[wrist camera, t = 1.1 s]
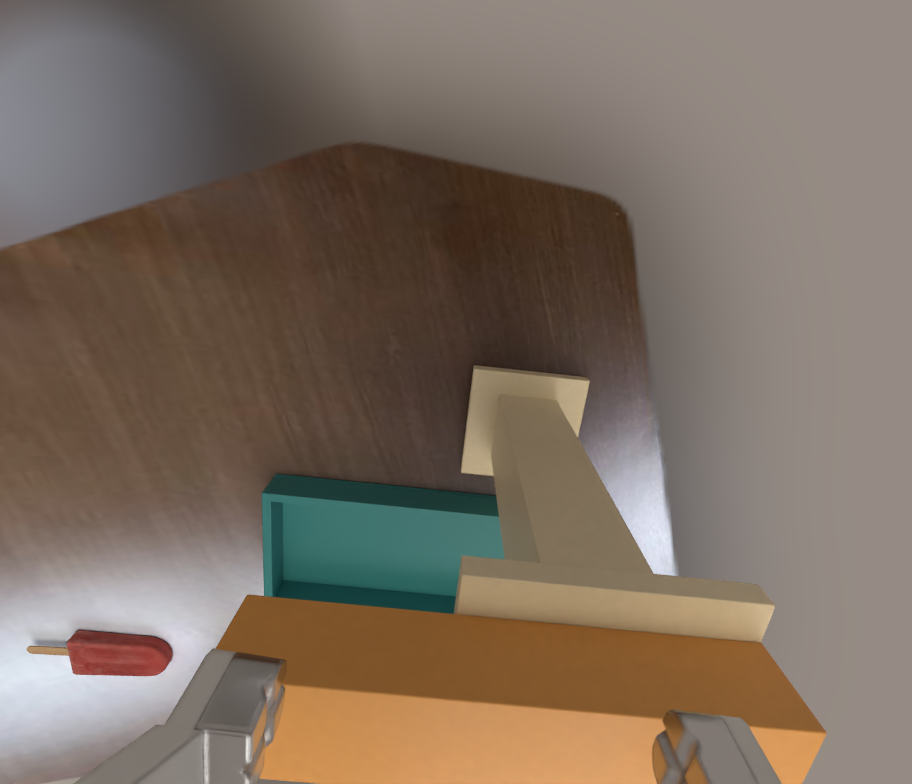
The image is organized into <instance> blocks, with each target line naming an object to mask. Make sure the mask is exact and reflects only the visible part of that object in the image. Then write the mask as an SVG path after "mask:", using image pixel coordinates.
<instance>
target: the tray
mask: <svg viewBox="0 0 912 784" xmlns="http://www.w3.org/2000/svg"><path fill="white" fill-rule="evenodd" d="M262 521H263V565H264V596H268V597H279V598H289V599H300V600H311V601H321V602H332V603H342V604H353V605H364V606H374V607H385V608H395V609H406V610H417V611H427V612H438V613H448V614H454V608H455V600H456V593H457V585H458V578H459V571H460V563H461V557H462V556H463V555H464V556H474V557H484V558H495V559H505V558H504V551H503V543H502V536H501V528H500V521H499V513H498V505H497V498H496V496H493V495H483V494H473V493H463V492H453V491H443V490H433V489H423V488H413V487H403V486H394V485H384V484H374V483H364V482H354V481H344V480H334V479H324V478H314V477H304V476H295V475H285V474H276V475H275V476H274V478H273V479H272V480H271V482H270V483H269V484H268V486H267V487H266V488H265V490H264V491H263V492H262Z"/></svg>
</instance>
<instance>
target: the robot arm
mask: <svg viewBox="0 0 912 784" xmlns="http://www.w3.org/2000/svg"><path fill="white" fill-rule="evenodd" d="M286 667H287V660H284V659H278V658H272V657H266V656H259V655H253V654H247V653H241V652H233V651H226V650H219V649H212V650H211V651H210V652H209V653H208V654H207V655H206V656H205V658H204V660H203V661H202V663H201V665H200V666H199V668H198V670H197V671H196V673H195V675H194V676H193V678H192V680H191V681H190V683H189V685H188V686H187V688H186V690H185V691H184V693H183V695H182V696H181V698H180V700H179V702H178V703H177V705H176V707H175V708H174V710H173V712H172V713H171V715H170V717H169V718H168V720H167V722H166V723H165V725H155V726H154V727H152V728H151V729H150V730H148V731H147V732H145V733H144V734H143V735H141V736H140V737H138V738H137V739H136V740H134V741H133V742H131V743H130V744H129V745H127V746H126V747H124V748H123V749H122V750H120V751H119V752H117V753H116V754H114V755H113V756H112V757H110V758H109V759H107V760H106V761H105V762H103V763H102V764H100V765H99V766H98V767H96V768H95V769H93V770H92V771H91V772H89V773H88V774H86V775H85V776H84V777H82V778H81V779H79V780H78V781H77V782H75V783H74V784H257V783H258V780H259V778H260V775H261V772H262V770H263V767H264V758H265V748H266V747H267V746H268V745H269V744H270V743H272V742H273V739H274V737H275V734H276V731H277V728H278V725H279V721H280V718H281V714H282V710H283V705H284V699H285V687H284V686H283V685H282V682H283V680H284V677H285V675H286ZM663 724H664V726H665V729H666V730H664V731H663V732H661V733H660V734H658V735H657V736H656V738H655V741H654V744H653V746H652V766H653V771H654V776H655V779H656V782H657V784H782V783H781V781H780V780H779V778H778V776H777V774H776V773H775V771H774V769H773V767H772V766H771V764H770V762H769V761H768V759H767V757H766V755H765V754H764V752H763V750H762V748H761V747H760V745H759V743H758V742H757V740H756V738H755V736H754V735H753V733H752V731H751V729H750V728H749V726H748V724H747V723H746V722H745V721H744V720H743V719H742V718H738V717H730V716H722V715H715V714H711V713H702V712H693V711H684V710H676V709H671V710H669V711H668V712H666V714H665V716H664V719H663Z"/></svg>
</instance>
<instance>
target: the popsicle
mask: <svg viewBox="0 0 912 784" xmlns="http://www.w3.org/2000/svg"><path fill="white" fill-rule="evenodd" d="M27 651H28V652H29V653H32V654H49V655H67V656H69V657H70V661H71V666H72V670H73V673H74V674H76V675H119V676H153V675H157V674H160V673H161V672H163V671H164V670H165V669H166V667H167V665H168V664H169V662H170V661H171V658H172V650H171V648H170V647H169V645H168V644H167V643H166V642H164V641H163V640H161V639H159V638H155V637H150V636H139V635H127V634H116V633H104V632H94V631H82V630H79V631H77V632H76V633H75V634H74V635H73V636H72V637H71V638H70V639H69V640H68V641H67V648H66V647H48V646H29V647H27Z"/></svg>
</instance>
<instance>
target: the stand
mask: <svg viewBox="0 0 912 784" xmlns="http://www.w3.org/2000/svg"><path fill="white" fill-rule="evenodd" d="M589 382H590V381H589V380H588V379H587V378H586V377H579V376H570V375H561V374H552V373H542V372H533V371H524V370H515V369H505V368H496V367H487V366H478V365H474V366H473V374H472V382H471V390H470V398H469V406H468V414H467V422H466V430H465V438H464V446H463V454H462V462H461V473H469V474H479V475H488V476H494V483H495V490H496V498H497V505H498V513H499V521H500V528H501V536H502V543H503V551H504V558H505V559H495V558H484V557H474V556H464V555H463V556H462V557H461V563H460V571H459V578H458V585H457V593H456V600H455V608H454V614H459V615H470V616H480V617H491V618H502V619H512V620H523V621H533V622H544V623H555V624H565V625H576V626H586V627H597V628H608V629H618V630H629V631H639V632H650V633H661V634H671V635H682V636H693V637H703V638H714V639H724V640H735V641H746V642H756V643H761V641H762V638H763V635H764V633H765V631H766V628H767V626H768V623H769V621H770V618H771V616H772V613H773V611H774V608H775V604H774V603H773V602H772V601H771V600H770V598H769V597H768V596H767V595H766V593H765V592H764V591H763V590H762V589H761V588H760V586H759V585H757V584H751V583H741V582H731V581H720V580H710V579H700V578H689V577H679V576H669V575H659V574H653V572H652V570H651V568H650V566H649V565H648V563H647V561H646V559H645V557H644V556H643V554H642V552H641V550H640V549H639V547H638V545H637V543H636V541H635V540H634V538H633V536H632V534H631V532H630V531H629V529H628V527H627V525H626V523H625V522H624V520H623V518H622V516H621V514H620V513H619V511H618V509H617V507H616V506H615V504H614V502H613V500H612V498H611V497H610V495H609V493H608V491H607V489H606V488H605V486H604V484H603V482H602V480H601V479H600V477H599V475H598V473H597V471H596V470H595V468H594V466H593V464H592V462H591V461H590V459H589V457H588V455H587V454H586V452H585V450H584V448H583V446H582V445H581V443H580V441H579V439H578V435H579V430H580V425H581V421H582V416H583V411H584V406H585V401H586V397H587V392H588V387H589Z"/></svg>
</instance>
